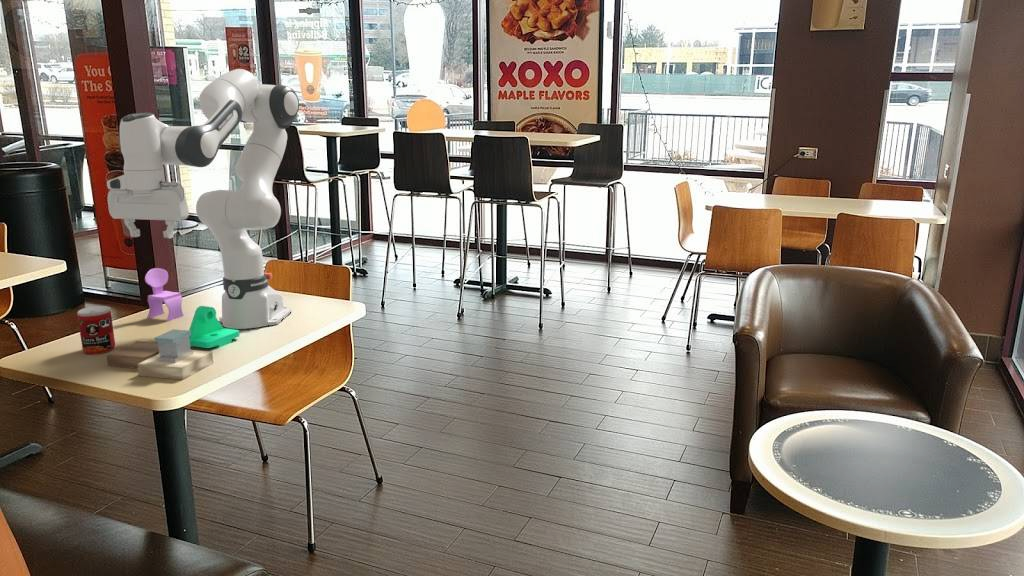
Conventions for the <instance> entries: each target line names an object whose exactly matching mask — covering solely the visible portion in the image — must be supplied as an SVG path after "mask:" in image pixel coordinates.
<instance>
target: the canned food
mask: <svg viewBox="0 0 1024 576" xmlns="http://www.w3.org/2000/svg"><path fill="white" fill-rule="evenodd" d="M76 315H77V321H78V327H79V328H78V330H79V335H80V341H81V343H80V344H81V348H82V352H83V353H84V354H86V355H99V354H106V353H110V351H111V352H112V351H114V349H115V347H116V342H115V341H116V340H115V334H114V333H115V332H114V325H113V318H112V317H113V316H112V311H111V307H110V306H106V305H105V306H104V305H97V306H94V305H93V306H88V307H84V308H81V309H78V310H77V313H76Z"/></svg>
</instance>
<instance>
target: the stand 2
mask: <svg viewBox="0 0 1024 576" xmlns="http://www.w3.org/2000/svg"><path fill="white" fill-rule="evenodd" d="M192 350H193V353H194V354H192V355H190V356H188V357H186V358H185V359H183V360H181V361H179V362H177V363H168V362H157V357H159V354H158V355H155V356H153V357H151V358H149V359H147V360H145V361H143V362H141V363H139V364H138V368H137V370H138V376H140V377H146V376H148V377H149V378H158V379H159V378H160V379H169V378H170V379H173V380H182V381H183V380H185V379H187V378H189V377H191V376H192V375H195V374H196V373H198V372H200V371H201V370H203V369H205V368H208V367H209V366H210V365H212V364H214V358H213V357H214V356H213V351H209V350H196V349H192Z"/></svg>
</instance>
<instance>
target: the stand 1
mask: <svg viewBox="0 0 1024 576" xmlns="http://www.w3.org/2000/svg"><path fill="white" fill-rule="evenodd" d="M105 354H106V353H105ZM158 354H159V347H158V342H155V341H154V342H153V341H141V340H140V341H137V340H136V341H134V342H131V343H130V344H128V345H125V346H123V347H121V348H117V349H116V350H112V351H111V352H108V353H107V354H106V361H107V366H108V367H114V368H115V367H116V368H126V369H127V368H129V369H138V364H139V363H141V362H143V361H145V360H147V359H149V358H151V357H153V356H155V355H158Z"/></svg>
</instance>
